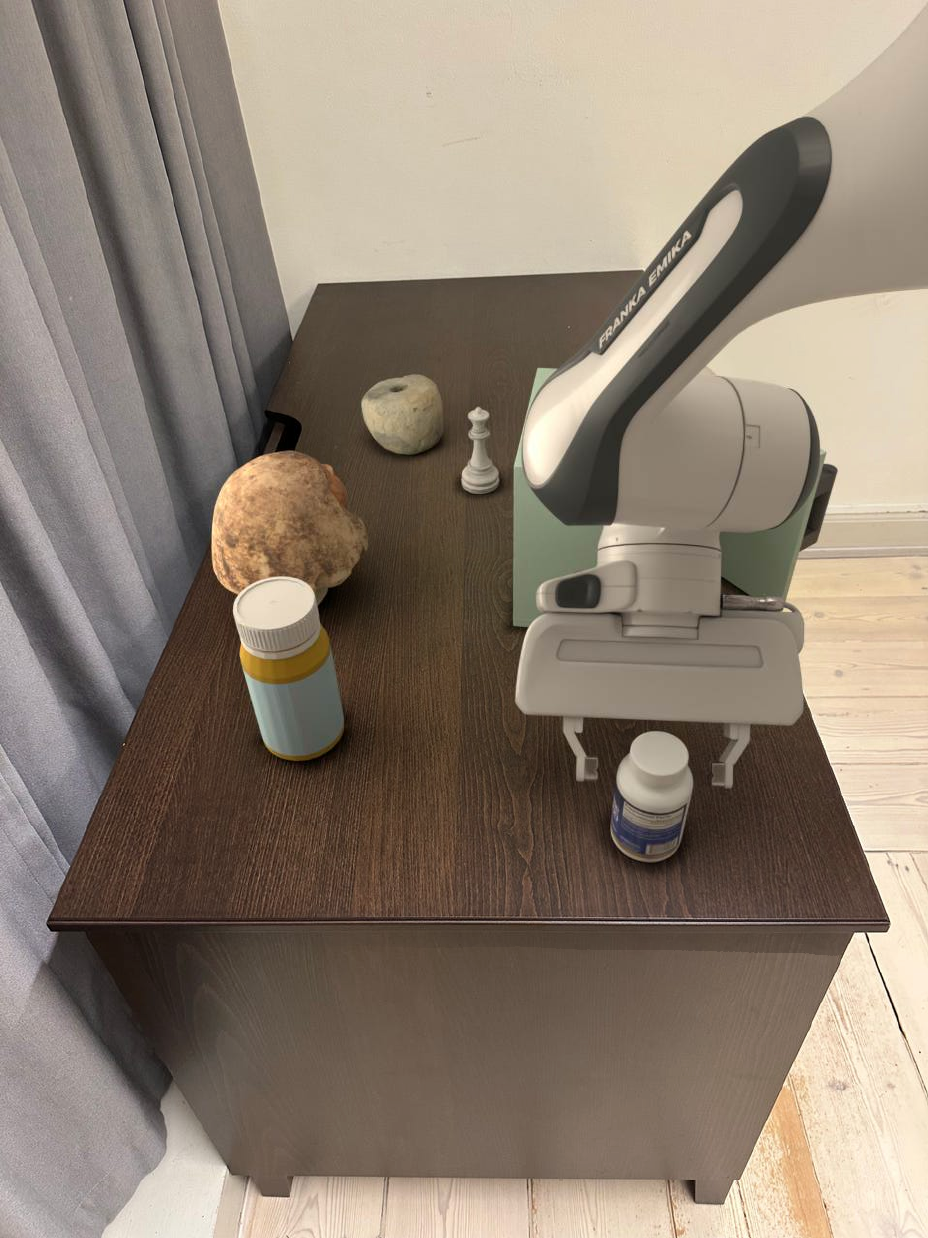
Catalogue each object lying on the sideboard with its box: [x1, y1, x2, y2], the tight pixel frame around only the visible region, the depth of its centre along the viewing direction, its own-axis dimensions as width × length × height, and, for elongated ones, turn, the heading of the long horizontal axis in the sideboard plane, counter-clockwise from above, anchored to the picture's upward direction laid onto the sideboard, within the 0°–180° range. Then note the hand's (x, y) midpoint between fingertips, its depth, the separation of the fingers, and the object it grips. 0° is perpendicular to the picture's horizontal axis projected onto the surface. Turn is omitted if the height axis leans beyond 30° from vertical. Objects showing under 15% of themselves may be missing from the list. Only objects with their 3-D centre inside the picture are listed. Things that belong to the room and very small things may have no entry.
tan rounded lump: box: [211, 450, 369, 607], centre depth 85 cm, size 15×16×15 cm
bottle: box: [232, 577, 345, 762], centre depth 71 cm, size 7×7×15 cm
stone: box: [360, 373, 444, 456], centre depth 110 cm, size 10×10×10 cm
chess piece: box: [461, 406, 500, 495], centre depth 101 cm, size 4×4×10 cm
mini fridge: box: [512, 367, 603, 628], centre depth 85 cm, size 12×18×18 cm, turn 170°
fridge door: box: [719, 448, 839, 612], centre depth 86 cm, size 7×18×18 cm, turn 35°
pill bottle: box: [610, 730, 694, 863], centre depth 64 cm, size 5×5×10 cm
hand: (652, 784), depth 64 cm, fingers open, 8 cm apart
